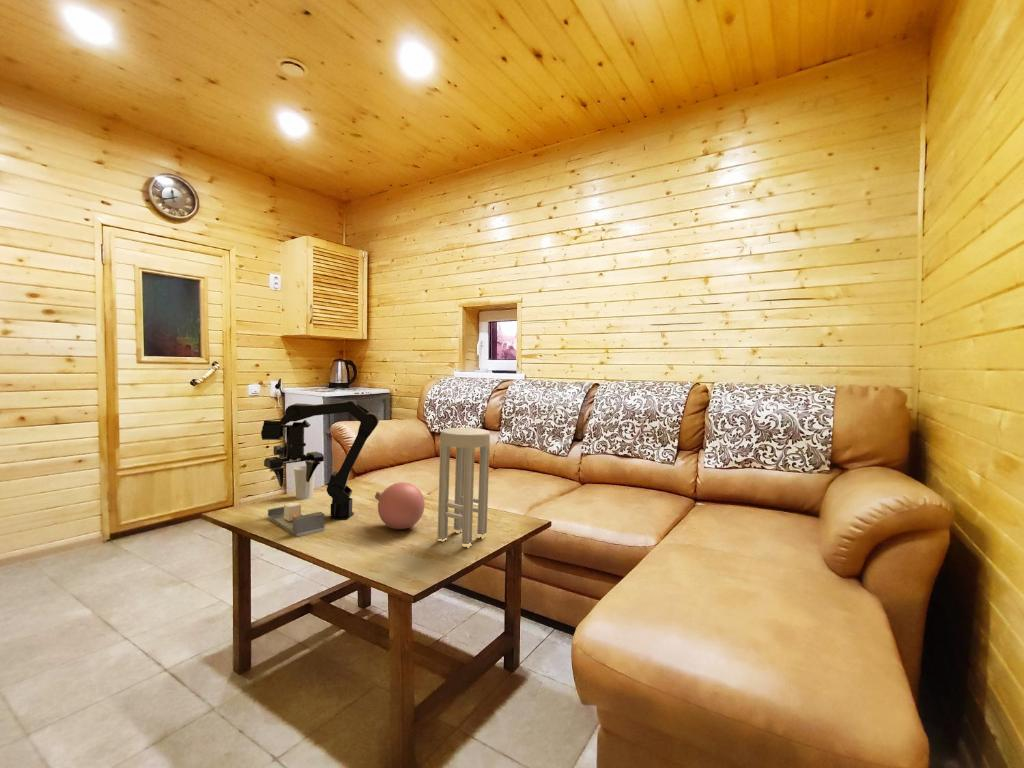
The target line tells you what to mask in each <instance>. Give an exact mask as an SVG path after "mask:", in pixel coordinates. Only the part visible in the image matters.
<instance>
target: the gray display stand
mask: <svg viewBox="0 0 1024 768" xmlns="http://www.w3.org/2000/svg"><path fill="white" fill-rule="evenodd" d="M267 519H268V520H270V521H272V522H273V523H275V524H276V525H277V526H279V527H281V528H282V529H283V530H285V531H286V532H288V533H289V534H291V535H293V536H294V537H295V538H298V537H302V536H306V535H310V534H311V535H312V534H314V533H315V534H316V533H319V532H324V531H325V513H323V512H322V511H317V512H313V513H309V514H307V513H306V514H302V513H301V516H297V517H293V520H292V521H288V520H286V519H284V506H279V507H275V508H269V509H267Z"/></svg>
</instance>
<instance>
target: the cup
mask: <svg viewBox="0 0 1024 768" xmlns="http://www.w3.org/2000/svg"><path fill="white" fill-rule="evenodd" d="M306 468H307V466H306V465H300V466H295V467H294V468H293V473H294V483H295V484H294V485H295V486H294V487H295V499H296V500H303V501H304V500H309V499H313V498H314V489H315V488H314V487H315V475H316V469H315V470H314V472H313V474H312V476H311V478H310V480H309V482H306Z"/></svg>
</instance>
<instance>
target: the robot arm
mask: <svg viewBox="0 0 1024 768" xmlns="http://www.w3.org/2000/svg"><path fill="white" fill-rule="evenodd" d="M341 413H349V414H350V415H352V417H354V418H355V419H356V420H357V421H359V422H360V424H359V426H358V430H357V434H356V437H355V438H354V440H353V442H352V445H351V447H350V448H349V451H348V453H347V455H346V456H345V459H344V460H343V462H342V464H341V466H340V468H339V470H338V471H335V470H333V472H332V474H331V475H330V476H329V480H328V481H327V483H326V484H325V486H327V487H326V493H327V494H328V496H329V497H331V499H332V500H331V503H330V516H329V519H336V520H349V518H351V517H352V516H353V515H354V514H355V512H354V511H353V498H352V497H351V496H352V493H353V489H351V488H350V487H349V486H348V481H349V478H350V474H351V471H352V469H353V467H354V465H355V463H356V461H357V459H358V457H359V455H360V453H361V451H362V449H363V447H364V445H365V443H366V442H367V439H368V438H369V437H370V436H371V434H372V433H373V432H374V430H375V429H376V427H377V426H378V424H379V423H380V418H379V415H378V414H377V413H376V412H373V411H369V410H367V408H364V406H361V405H360V404H359V403H357V401H356V400H353V399H350V400H348V401H347V400H345V401H337V402H330V403H320V404H310V403H293V404H291V405H288V406H287V407H286V409H285V410H284V415H282V417H281V418H280V420H271V419H265V420H263V424H262V428H261V433H260V436H261V440H263V441H281V440H282V439H283V438H285V440H286V441H285V442H283V443H284V444H283V446H281V445H274V446H273V456H272V457H271V456H270V457H265V459H264V460H263V466H264V467H266V468H268V469H270V470H272V471H273V472H274V474H275V477H276V479H277V482H278V484H279V487H280V488H281V487H282V488H283V485H284V470H285V469H284V467H283V465H285V464H292V463H300V462H301V463H302V462H305V466H307V468H306V482H309V480H310V478H311V476H312V474H313V472H314V470H315V471H316V469H317V467H318V466H319V465H320V464H321V463H322V462H325V456H324V454H323V453H322V452H320V451H319V452H318V451H309V452H306V454H305V447H306V446H307V443H306V442H305V428H309V427H311V424H310V423H309V422H308V421H307V419H308V418H311V417H316V416H323V415H324V416H325V415H333V414H341ZM301 420H303V421H301ZM299 421H301V422H299ZM291 422H292V424H289V423H291ZM278 456H279V457H278Z"/></svg>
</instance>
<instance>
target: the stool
mask: <svg viewBox="0 0 1024 768" xmlns="http://www.w3.org/2000/svg"><path fill="white" fill-rule="evenodd" d="M439 436H440V437H439V472H438V473H439V474H438V475H439V476H438V511H437V513H438V514H437V540H438V539H442V540H443V539H445V538H447V539H448V536H449V535H448V533H449V532H448V530H449V529H448V528H449V526H448V525H449V518H450V519H453V530H454V529H455V530H461V529H462V532H461V544H462V543H463V544H469V543H471V542H472V543H473V515H474V513H477V528H476V530H477V534H482V535H483V534H485V533H487V534H488V532H487V531H488V529H487V528H488V506H489V505H488V504H489V502H488V501H489V477H490V476H489V470H490V444H491V443H490V440H491V439H490V438H491V437H490V436H491V432H490V430H486V429H483V428H476V427H475V428H474V427H450V428H443V429H442V430H441V432H440V435H439ZM451 448H455V475H454V477H455V479H454V481H455V482H454V503H452V502H449V495H450V467H451V466H450V463H451V462H450V459H451V456H450V455H451ZM476 448H479V463H478V464H479V465H478V466H479V467H478V468H479V471H478V495H477V497H478V498H476V497H474V482H475V481H474V480H475V455H476V454H475V451H476ZM474 503H475V504H478V505H477V507H475V506H474ZM449 508H450V509H454V510H453V511H454V512H453V513H452V512H449ZM473 512H474V513H473ZM477 534H476V535H477Z"/></svg>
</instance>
